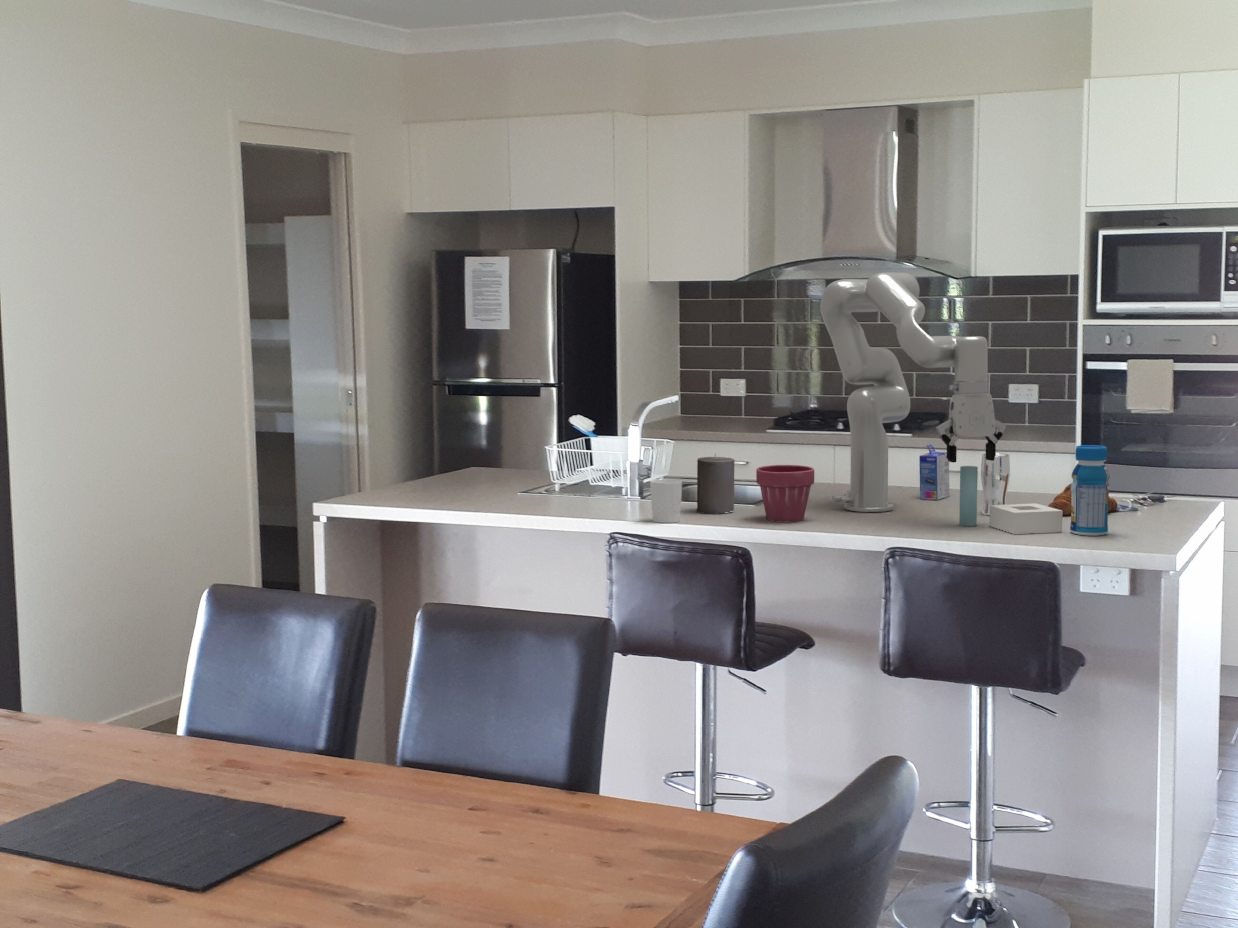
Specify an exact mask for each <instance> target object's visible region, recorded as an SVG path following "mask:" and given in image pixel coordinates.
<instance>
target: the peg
mask: <svg viewBox="0 0 1238 928" xmlns="http://www.w3.org/2000/svg"><path fill="white" fill-rule="evenodd" d="M978 467H979V466H975V465H961V466H960V468H959V469H960V470H959V514H958V515H959V517H958V518H959V521H958V522H959V526H961V527H976V525H977V523H978V519H977V518H978V516H977V515H978V473H979V472H978V471H979V469H978ZM977 526H978V525H977Z"/></svg>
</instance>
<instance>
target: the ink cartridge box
mask: <svg viewBox="0 0 1238 928" xmlns="http://www.w3.org/2000/svg"><path fill="white" fill-rule="evenodd" d="M926 447H927V450H928V452H927V453H924V454H921V455H919V459H918V460H919V497H920V500H925V501H926V500H929V501H939V500H941V499H944V498H946V497H949V496H950V462H949V461H948V459H947V451H946V452H944V451H936V450H935V447H934V445H932V444H927V445H926Z"/></svg>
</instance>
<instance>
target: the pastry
mask: <svg viewBox="0 0 1238 928" xmlns="http://www.w3.org/2000/svg"><path fill="white" fill-rule="evenodd" d="M1071 484H1072V482H1071V483H1070V484H1068V485H1066V487H1065V488H1064V489H1063V491H1061V492H1060V493H1059V494H1057V495H1056V496H1055V497H1054V498H1053V500H1052V501H1051V502H1049V504H1048V505H1047V507H1051V508H1055V509H1058V510H1062V511H1063V515H1062V517H1071V500H1072V492H1071ZM1118 507H1119V506H1118V502H1117V500H1116V499H1115V498H1114V497H1110V496H1109V497H1108V514H1110V513H1114V512H1115V511H1117V509H1118Z"/></svg>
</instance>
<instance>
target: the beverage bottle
mask: <svg viewBox="0 0 1238 928" xmlns="http://www.w3.org/2000/svg"><path fill="white" fill-rule="evenodd" d="M1107 460H1108V449H1107V446H1105V445H1095V444H1091V445H1090V444H1082V445H1076V446H1075V461H1076V462H1078V463H1077V464H1076V466H1075V467H1074V468H1073V470H1072V473H1071V478H1072V481H1071V483H1072V484H1071V483H1070V484H1071V492H1072V500H1071V516H1070V524H1069V525H1070V526H1069V531H1070V532H1071V534H1074V535H1077V536H1088V537H1099V536H1105V535H1107V534H1108V533H1109V525H1108V521H1109V518H1108V517H1109V515H1108V514H1109V513H1108V497H1110V496H1109V495H1110V494H1109V493H1110V492H1111V491H1110V490H1111V486H1110V484H1109V480H1110V478H1111V476H1110V472H1109V470H1108V468H1107V466H1106V464H1104V463H1105V462H1107Z"/></svg>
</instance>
